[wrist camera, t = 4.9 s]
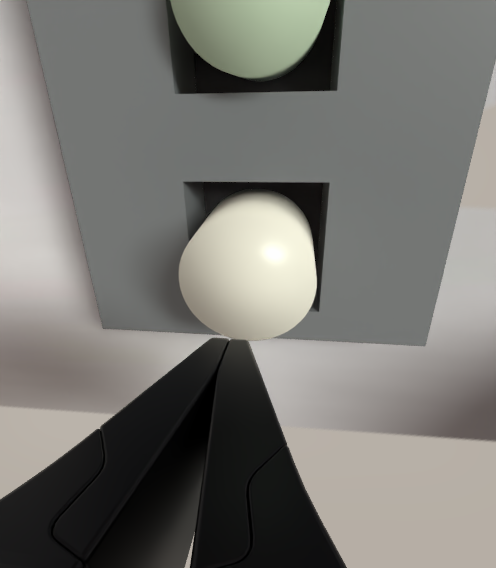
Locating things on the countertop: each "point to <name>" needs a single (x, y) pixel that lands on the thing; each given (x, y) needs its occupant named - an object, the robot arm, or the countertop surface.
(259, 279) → the ivory button
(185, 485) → the robot arm
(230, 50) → the sage button
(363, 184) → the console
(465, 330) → the countertop surface
